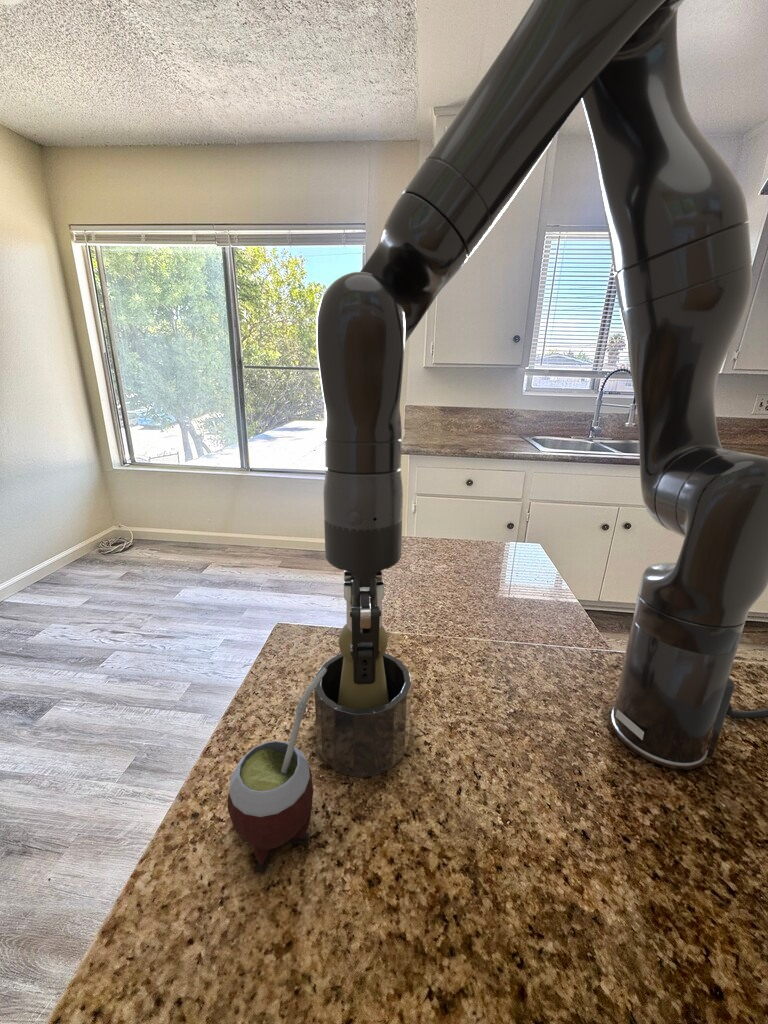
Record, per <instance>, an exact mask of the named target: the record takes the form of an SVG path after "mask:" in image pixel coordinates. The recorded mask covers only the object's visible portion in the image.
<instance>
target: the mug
mask: <svg viewBox="0 0 768 1024" xmlns="http://www.w3.org/2000/svg"><path fill="white" fill-rule="evenodd" d="M343 659H344V656H343V655H342V654H341V653H338V654H335V655H334V656H332V657H331V658H329V659H328V660H326V661H325V662H323V664H321V666H320V668H319V669H318V671H316V673H315V677H316V676H317V675H318V674H319V672H320V671H321V670H322V669H323V667H324V668H326V670H327V671H326V673H325V674H324V676H323V677H322V679H321V680H320V681H319V683H318V684H317V686H316V687H315V689H314V690H313V692H314V714H315V738H316V739H315V740H316V745H317V749H318V752H319V755H320V757H321V758H322V760H323V761H324V763H325V764H326V765H328V767H330V768H331V769H333V770H334V771H336V772H337V773H339V774H342V775H345V776H349V777H355V778H368V777H369V778H370V777H374V776H379V775H381V774H384V773H385V772H388V771H389V770H391V769H392V768H394V767H395V766H396V765H397V764H399V762H400V761H402V759H403V757H404V755H405V754H406V752H407V750H408V745H409V740H410V730H411V728H410V727H411V705H412V678H411V674H410V670H409V669H408V668H407V667H406V665H405V664H404V663H403V662H402V661H401V660H400V659H399V658H397V657H396V656H393V655H391V654H390V653H387V652H385V653H384V655H383V662H384V670H385V677H386V684H387V691H388V699H389V703H388V704H385V705H382V706H379V707H376V708H374V709H351V708H348V707H344V706H340V705H338V697H339V690H340V682H341V674H342V667H343Z"/></svg>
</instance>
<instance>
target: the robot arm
mask: <svg viewBox="0 0 768 1024" xmlns="http://www.w3.org/2000/svg"><path fill="white" fill-rule="evenodd" d="M684 1H685V0H532V2H531V3H530V5H529V7H528V9H527V10H526V12H525V13H524V15H523V17H522V18H521V19H520V21H519V23H518V25H517V26H516V28H515V29H514V30H513V32H512V34H511V35H510V37H509V38H508V40H507V41H506V43H505V44H504V46H502V47H503V48H502V49H501V50H500V52H499V53H498V55H497V56H496V58H495V59H494V61H493V62H492V63H491V65H490V67H489V68H488V69H487V71H486V72H485V73H484V75H483V77H481V79H480V81H479V82H478V83H477V85H476V87H475V88H474V90H473V91H472V93H471V94H470V95H469V96H468V98H467V100H466V101H465V103H464V104H463V105H462V106H461V108H460V110H459V111H458V112H457V113H456V115H455V117H454V118H453V119H452V121H451V122H450V124H449V125H448V127H447V128H446V129H445V131H444V132H443V134H441V137H440V138H439V140H437V142H436V143H435V144H434V146H433V147H432V149H431V151H430V152H429V153H428V155H427V156H426V158H425V159H424V161H422V164H421V165H420V166H419V168H418V169H417V171H416V172H415V174H414V175H413V177H412V178H411V179H410V181H408V184H407V185H406V187H405V188H404V190H403V191H402V193H401V194H400V195H399V197H398V198H397V200H396V201H395V203H394V205H393V207H392V208H391V210H390V212H389V214H388V216H387V218H386V220H385V223H384V226H383V230H382V233H381V237H380V239H379V242H378V244H377V246H376V247H375V249H374V250H373V252H372V253H371V255H370V257H369V258H368V259H367V261H366V263H365V264H364V265H363V266H362V268H361V270H360V271H353V272H349V273H346V274H344V275H341V276H340V277H339V278H337V279H336V280H334V281H333V282H332V283H331V284H330V285H329V286H328V288H327V289H326V290H325V292H324V293H323V295H322V297H321V299H320V302H319V305H318V308H317V314H316V325H315V326H316V327H315V329H316V330H315V331H316V333H315V334H316V351H317V361H318V369H319V377H320V385H321V391H322V392H321V393H322V397H323V403H324V404H323V405H324V460H325V461H324V462H325V465H324V466H325V469H324V482H323V494H322V495H323V517H324V518H323V527H324V555H325V559H326V561H327V562H328V563H329V564H330V565H331V566H332V567H334V569H335V568H336V569H338V570H341V571H343V598H344V600H345V601H346V624H347V628H348V629H349V630H351V631H352V645H351V656H352V660H353V679H354V683H355V684H372V683H374V682H375V679H376V659H378V656H379V655H380V649H379V629H380V628H381V627H382V626H383V599H384V598H385V582H384V580H383V571H384V570H388V569H390V568H392V567H394V566H396V565H397V564H398V563H399V562H400V560H401V558H402V544H403V543H402V542H403V507H404V505H403V504H404V488H403V479H402V445H403V444H402V443H403V440H402V438H403V436H402V435H403V434H402V433H403V432H402V431H403V430H402V429H403V428H402V416H401V409H400V408H401V407H400V406H401V396H402V384H403V373H404V361H405V360H404V359H405V348H406V347H405V345H406V342H407V341H408V340H409V338H410V337H411V335H412V334H413V332H414V331H415V329H416V328H417V326H418V325H419V324H420V322H421V321H422V319H423V318H424V316H425V314H426V313H427V311H428V310H429V308H430V307H431V306H432V304H433V303H434V301H435V299H437V296H438V295H439V294H440V293H441V291H442V290H443V288H444V287H446V285H447V284H448V283H449V282H450V281H451V280H452V279H453V278H454V277H455V276H456V274H458V272H460V270H461V269H462V268H463V266H464V265H465V264H466V263H467V261H468V260H469V259H470V258H471V256H472V255H473V254H474V252H475V251H476V250H477V248H478V247H479V246H480V244H481V243H482V242H483V240H485V238H486V237H487V235H488V234H489V232H490V231H491V230H492V229H493V227H494V226H495V225H496V223H497V222H498V220H500V218H501V216H502V215H503V213H504V212H505V211H506V209H507V208H508V207H509V205H510V203H511V202H512V201H513V200H514V198H515V197H516V195H517V193H518V192H519V191H520V190H521V188H522V187H523V185H524V183H526V181H527V179H528V178H529V177H530V175H531V173H532V171H533V170H534V169H535V168H536V166H537V164H538V163H539V161H540V160H541V158H542V157H543V155H544V154H545V152H546V151H547V149H549V146H550V145H551V143H552V142H553V141H554V139H555V138H556V136H557V135H558V133H559V132H560V131H561V129H562V127H563V126H564V125H565V123H566V121H567V120H568V119H569V118H570V116H571V115H572V113H573V112H574V110H575V109H576V107H577V106H578V105H579V103H580V102H581V106H582V109H583V113H584V117H585V120H586V123H587V127H588V132H589V134H590V137H591V138H590V139H591V143H592V148H593V151H594V157H595V164H596V168H597V175H598V182H599V189H600V194H601V201H602V206H603V211H604V217H605V223H606V228H607V233H608V238H609V239H608V240H609V245H610V252H611V261H612V271H613V274H614V275H613V278H614V283H615V284H614V285H615V289H616V296H617V302H618V309H619V313H620V318H621V322H622V327H623V332H624V337H625V341H626V349H627V355H628V361H629V370H630V376H631V381H632V383H631V384H632V389H633V394H634V398H635V399H634V401H635V407H636V415H637V427H638V450H639V451H638V452H639V455H638V456H639V475H640V476H639V477H640V489H641V496H642V502H643V505H644V507H645V508H646V511H647V513H648V514H649V516H650V517H651V518H652V519H653V521H655V523H657V524H658V525H660V526H661V527H663V528H664V529H666V530H668V531H670V532H672V533H674V534H677V536H678V535H679V536H681V537H682V538H683V541H682V545H681V548H680V551H679V554H678V557H677V559H676V562H659V563H654V564H651V565H649V566H648V567H646V568H645V570H644V571H643V572H642V574H641V578H640V582H639V586H638V592H637V596H636V601H635V606H634V610H633V616H632V621H631V624H630V630H629V635H628V639H627V644H626V649H625V654H624V659H623V663H622V668H621V672H620V677H619V681H618V687H617V691H616V696H615V700H614V705H613V707H612V710H611V714H610V725H611V728H612V730H613V732H614V733H615V735H616V736H617V738H618V739H619V740H620V741H621V742H622V743H623V745H625V746H626V747H627V748H628V749H629V750H631V751H632V752H634V753H635V754H636V755H638V756H640V757H641V758H642V759H644V760H647V761H649V762H651V763H653V764H656V765H658V766H661V767H665V768H668V769H672V770H678V771H679V770H680V771H688V770H694V769H697V768H700V767H702V765H703V764H704V763H705V762H706V759H707V756H714V755H715V752H716V749H717V745H718V743H719V738H720V735H721V733H722V729H723V725H724V722H725V720H726V716H728V717H732V718H738V719H749V718H750V719H751V718H753V719H755V718H766V717H768V708H764V709H758V710H757V709H756V710H745V711H744V710H733V708H732V704H731V700H732V696H733V694H734V691H735V685H736V684H735V682H734V680H733V679H732V678H731V677H730V675H731V672H732V669H733V665H734V662H735V658H736V654H737V651H738V648H739V644H740V641H741V637H742V635H743V631H744V627H745V625H746V621H747V619H748V614H749V612H750V610H751V608H752V607H753V606H754V605H755V604H756V603H757V601H758V600H759V599H760V597H761V596H762V595H763V593H764V592H765V591H766V589H767V587H768V457H767V456H763V455H759V454H753V453H747V452H742V451H737V450H731V449H726V448H723V447H722V444H721V440H720V436H719V432H718V425H717V415H716V405H715V402H716V401H715V395H716V388H717V383H718V379H719V375H720V372H721V370H722V368H723V365H724V362H725V360H726V358H727V356H728V353H729V351H730V349H731V347H732V345H733V343H734V341H735V338H736V336H737V333H738V332H739V329H740V326H741V324H742V322H743V320H744V317H745V314H746V311H747V308H748V305H749V302H750V298H751V293H752V287H753V265H752V263H753V261H752V249H751V235H750V224H749V214H748V207H747V202H746V196H745V194H744V191H743V188H742V185H741V183H740V182H739V180H738V178H737V176H736V175H735V173H734V171H733V170H732V168H731V167H730V166H729V165H728V163H727V162H726V160H725V159H724V158H723V157H722V155H721V154H720V153H719V152H718V150H717V149H716V148H715V147H714V146H713V144H712V143H711V142H710V141H709V140H708V138H707V137H706V136H705V135H704V134H703V133H702V131H701V130H700V128H699V127H698V126H697V124H696V123H695V121H694V119H693V117H692V115H691V113H690V111H689V108H688V105H687V103H686V99H685V94H684V89H683V85H682V74H681V67H680V58H679V57H680V56H679V47H678V45H679V44H678V13H679V12H678V11H679V8H680V6H681V5H682V4H683V2H684Z"/></svg>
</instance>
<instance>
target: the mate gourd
mask: <svg viewBox="0 0 768 1024" xmlns="http://www.w3.org/2000/svg"><path fill="white" fill-rule="evenodd" d="M326 671H327V670H326V668H324V667H323V669H322V670H321V671H320V672H319V674H318V675H317V676H316V675H315V676H314V679H313V680H312V681H311V682H310V684H309V685H308V686H307V687H306V689H305V691H304V693H303V695H302V696H301V698H300V700H298V702H297V705H296V708H295V716H294V722H293V725H292V730H291V733H290V737H289V741H283V740H272V741H271V740H270V741H264V742H262V743H260V744H257V745H256V746H253V747H252V748H251V749H250V750H249V751H248V752H247V753H245V754H244V755H243V756H242V757H241V759H240V760H239V762H238V763H237V765H236V766H235V768H234V770H233V772H232V773H231V775H230V779H229V786H228V794H227V811H228V814H229V818H230V820H231V824H232V826H233V828H234V830H235V832H236V833H237V835H238V836H239V837H240V838H241V839H242V840H243V841H244V842H246V843H247V844H248V846H250V847H251V848H252V850H253V853H254V855H255V857H256V859H257V862H256V864H255V867H254V869H255V872H257V873H259V874H264V873H265V872H266V869H267V867H268V866H269V862H270V860H271V857H272V855H273V853H274V850H275V849H276V848H279V847H281V846H282V845H284V844H286V843H291V844H295V845H299V846H307V845H308V844H309V843H308V842H309V840H310V833H309V832H307V831H308V828H309V825H310V822H311V819H312V808H313V807H312V806H313V797H314V785H313V775H312V770H311V767H310V763H309V761H308V759H307V758H306V756H305V754H304V753H303V752H302V751H301V750H300V749H299V748H298V747H296V743H297V738H298V736H299V731H300V727H301V723H302V719H303V716H304V715H305V713H306V711H307V708H308V701H309V699H310V698H311V696H312V694H313V692H314V689H315V687H316V686H317V684H318V683H319V681H320V680H321V679H322V677H323V676H324V674H325V673H326Z"/></svg>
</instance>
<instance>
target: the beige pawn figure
mask: <svg viewBox="0 0 768 1024" xmlns="http://www.w3.org/2000/svg"><path fill="white" fill-rule="evenodd" d="M388 640H389V639H388V633H387V631H386V629H385V627H384V626H383V625H382V627H381V628H380V629H379V649H380V655H379V656H378V659H376V679H375V682H374V683H372V684H355V683H354V679H353V660H352V656H351V645H352V631H351V630H349V629H348V628H347V623H345V624H344V625H343V627H342V628H341V630H340V631H339V636H338V647H339V651H340V654H342V655H343V656H344V659H343V667H342V674H341V682H340V690H339V697H338V705H340V706H344V707H348V708H351V709H374V708H376V707H379V706H382V705H385V704H388V703H389V699H388V691H387V684H386V677H385V670H384V662H383V655H384V653H386V652H387V648H388Z"/></svg>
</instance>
